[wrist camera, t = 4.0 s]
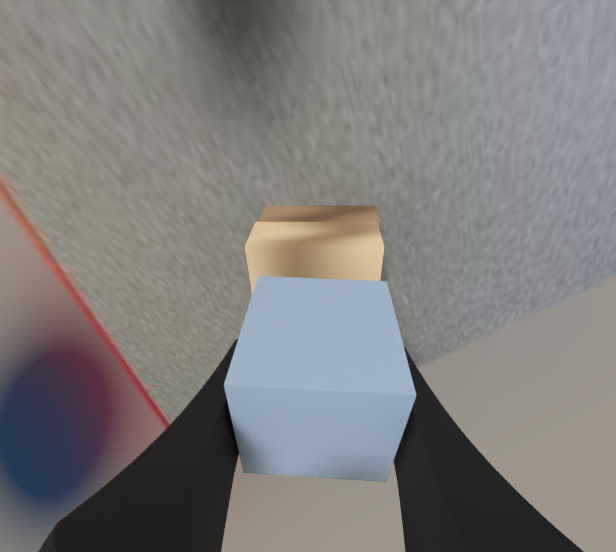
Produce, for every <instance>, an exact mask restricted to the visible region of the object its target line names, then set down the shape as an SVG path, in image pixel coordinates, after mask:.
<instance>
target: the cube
mask: <svg viewBox="0 0 616 552" xmlns="http://www.w3.org/2000/svg"><path fill="white" fill-rule="evenodd" d="M224 388H225V393H226V397H227V402H228V406H229V410H230V415H231V419H232V424H233V428H234V433H235V437H236V442H237V446H238V450H239V455H240V459H241V464H242V468H243V473H255V474H270V475H285V476H301V477H317V478H333V479H349V480H365V481H380V482H386V481H387V478H388V475H389V472H390V469H391V466H392V464H393V461H394V458H395V455H396V452H397V449H398V446H399V444H400V441H401V438H402V435H403V432H404V429H405V427H406V424H407V421H408V418H409V415H410V412H411V409H412V407H413V404H414V401H415V398H416V392H415V388H414V384H413V380H412V376H411V373H410V369H409V365H408V361H407V357H406V353H405V350H404V346H403V342H402V338H401V334H400V331H399V327H398V323H397V319H396V315H395V311H394V308H393V304H392V300H391V296H390V292H389V289H388V285H387V281H366V280H342V279H318V278H294V277H269V276H258V279H257V282H256V285H255V288H254V291H253V294H252V298H251V301H250V304H249V307H248V310H247V313H246V317H245V320H244V323H243V326H242V329H241V332H240V335H239V339H238V342H237V345H236V348H235V351H234V354H233V358H232V361H231V364H230V367H229V370H228V373H227V376H226V380H225V383H224Z"/></svg>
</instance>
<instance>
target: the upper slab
mask: <svg viewBox="0 0 616 552" xmlns="http://www.w3.org/2000/svg"><path fill="white" fill-rule="evenodd" d="M245 252H246V258H247V264H248V270H249V276H250V283H251V289H252V294H253V291H254V288H255V285H256V282H257V279H258V276H269V277H294V278H318V279H342V280H366V281H380V278H381V270H382V263H383V255H384V244H383V240H382V237H381V234H380V230H379V227H378V223H377V222H255V224H254V227H253V229H252V231H251V233H250V236H249V238H248V240H247V242H246V245H245Z"/></svg>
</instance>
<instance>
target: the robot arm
mask: <svg viewBox="0 0 616 552" xmlns="http://www.w3.org/2000/svg"><path fill="white" fill-rule="evenodd" d="M237 342H238V339H237V340H235V341H234V343H233V345H232V346H231V348H230V349H229V351H228V352H227V354H226V355H225V357H224V358H223V360H222V361H221V363H220V364H219V366H218V367H217V369H216V370H215V371H214V373H213V374H212V375H211V377H210V378H209V379H208V381H207V382H206V383H205V385H204V386H203V387H202V389H201V390H200V391H199V392H198V393H197V395H196V396H195V397H194V398H193V399H192V401H191V402H190V403H189V404H188V406H187V407H186V408H185V409H184V410H183V411H182V412H181V414H180V415H179V416H178V417H177V418H176V419H175V420H174V421H173V422H172V423H171V424H170V426H169V427H168V428H167V429H166V430H165V431H164V432H163V433H162V434H161V435H160V436H159V437H158V438H157V439H156V440H155V441H154V442H153V443H152V444H151V445H150V446H149V447H148V448H147V449H146V450H145V451H144V452H143V453H141V454H140V455H139V456H138V457H137V458H136V459H135V460H134V461H133V462H132V463H130V464H129V465H128V466H127V467H126V468H125V469H123V470H122V471H121V472H120V473H119V474H118V475H116V476H115V477H114V478H113V479H112V480H111V481H110V482H109V483H107V484H106V485H105V486H104V487H102V488H101V489H100V490H99V491H98V492H96V493H95V494H94V495H92V496H91V497H90V498H89V499H87V500H86V501H85V502H84V503H82V504H81V505H80V506H79V507H77V508H76V509H75V510H73V511H72V512H71V513H69V514H68V515H67V516H65V517H64V518H63V519H61V520H60V521H59V522H58V523H57V524H56V525H55V527H54V529H53V530H52V531H51V533H50V534H49V536H48V537H47V539H46V540H45V542H44V543H43V545H42V546H41V548H40V550H39V551H38V552H221V548H222V541H223V535H224V529H225V523H226V517H227V511H228V505H229V500H230V494H231V488H232V483H233V477H234V472H235V467H236V463H237V459H238V455H239V450H238V446H237V442H236V437H235V433H234V428H233V424H232V419H231V415H230V410H229V406H228V402H227V397H226V393H225V388H224V383H225V380H226V376H227V373H228V370H229V367H230V364H231V361H232V358H233V354H234V351H235V348H236V345H237ZM404 350H405V353H406V357H407V361H408V365H409V369H410V373H411V376H412V380H413V384H414V388H415V392H416V398H415V401H414V404H413V407H412V409H411V412H410V415H409V418H408V421H407V424H406V427H405V429H404V432H403V435H402V438H401V441H400V444H399V446H398V449H397V452H396V455H395V458H394V465H395V470H396V475H397V482H398V489H399V497H400V506H401V514H402V523H403V532H404V541H405V550H406V552H583V551H582V550H581V549H580V548H578V547H577V546H576V545H575V544H574V543H573V542H572V541H571V540H569V539H568V538H567V537H566V536H565V535H563V534H562V533H561V532H560V531H559V530H558V529H556V528H555V527H554V526H553V525H552V524H551V523H550V522H549V521H548V520H547V519H546V518H544V517H543V516H542V515H541V514H540V513H539V512H538V511H537V510H536V509H535V508H534V507H533V506H532V505H531V504H529V502H527V501H526V500H525V499H524V498H523V497H522V496H521V495H520V494H519V493H518V492H517V491H516V490H515V489H514V488H513V487H512V486H511V485H510V484H509V483H508V482H507V481H506V480H505V479H504V478H503V476H502V475H500V473H499V472H498V471H496V470H495V468H494V467H493V466H492V465H491V464H490V463H489V462H488V461H487V460H486V459H485V457H484V456H483V455H482V454H481V453H480V452H479V451H478V450H477V449H476V447H475V446H474V445H473V444H472V443H471V442H470V440H469V439H468V438H467V437H466V436H465V434H464V433H463V432H462V431H461V430H460V428H459V427H458V426H457V425H456V423H455V422H454V421H453V419H452V418H451V417H450V415H449V414H448V413H447V411H446V410H445V409H444V407H443V406H442V405H441V403H440V402H439V400H438V399H437V397H436V396H435V395H434V393H433V392H432V391H431V389H430V387H429V386H428V384H427V383H426V381H425V380H424V378H423V377H422V375H421V373H420V372H419V370H418V369H417V367H416V365H415V364H414V362H413V360H412V359H411V357H410V355H409V354H408V352H407V350H406V348H405V347H404Z"/></svg>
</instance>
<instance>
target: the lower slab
mask: <svg viewBox="0 0 616 552" xmlns="http://www.w3.org/2000/svg"><path fill="white" fill-rule="evenodd" d="M259 222H377V223H378V227H379V228H380V220H379V217H378V214H377V210H376V207H375V206H265V208H264V210H263V212H262V215H261V217H260V220H259Z"/></svg>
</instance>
